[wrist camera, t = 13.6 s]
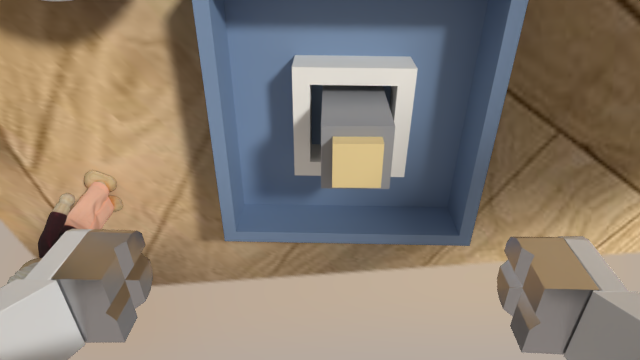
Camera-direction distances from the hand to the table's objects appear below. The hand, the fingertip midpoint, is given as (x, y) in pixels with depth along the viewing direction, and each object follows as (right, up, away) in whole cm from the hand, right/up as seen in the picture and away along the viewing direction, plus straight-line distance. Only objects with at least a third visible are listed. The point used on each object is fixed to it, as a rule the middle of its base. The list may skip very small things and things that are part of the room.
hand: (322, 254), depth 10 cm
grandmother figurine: (-20, 0, +30) cm, 36 cm away
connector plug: (+2, +7, +24) cm, 25 cm away
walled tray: (+2, +8, +25) cm, 26 cm away
